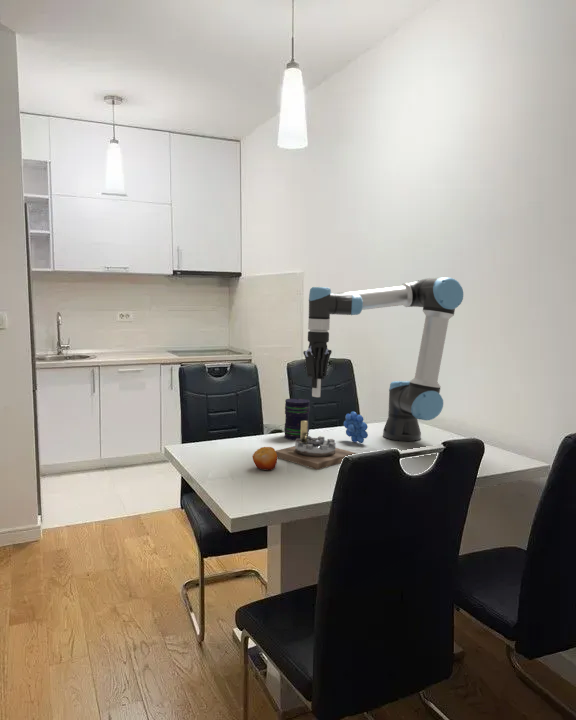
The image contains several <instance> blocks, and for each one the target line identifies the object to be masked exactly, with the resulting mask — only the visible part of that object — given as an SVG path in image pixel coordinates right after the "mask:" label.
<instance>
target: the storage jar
mask: <svg viewBox="0 0 576 720" xmlns="http://www.w3.org/2000/svg"><path fill="white" fill-rule="evenodd" d="M310 402H311V401H310V400H309V399H306V398H297V397H295V398H294V397H293V398H292V397H290V398H286V399H285V403H284V405H285V406H284V414H285V423H284V429H283V430H284V439H286V440H289V441H296V439H297V438H300V437H301V421H308V422H309V419H310V417H309V416H310V410H311V407H310V405H311V404H310ZM309 434H310V423H308V430H307V436H309Z"/></svg>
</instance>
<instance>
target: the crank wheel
mask: <svg viewBox="0 0 576 720" xmlns="http://www.w3.org/2000/svg"><path fill="white" fill-rule="evenodd" d="M308 424H309V421H301V437H300V438H297V439H296V440H295V442H294V443H295V444H294V446H295V452H297V453H298V454H301V455H305V456H313V457H323V456H330V455H333V454H335V448H337V446H336V444H337V443H336V442H335V439H333V438H327V440H325V436H321V435H320V436H318V437H312V436H311V435H308V436H307V430H308Z"/></svg>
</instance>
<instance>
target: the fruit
mask: <svg viewBox="0 0 576 720" xmlns="http://www.w3.org/2000/svg"><path fill="white" fill-rule="evenodd" d="M251 457H252V461H253V463H254V466H255V467H256V468H257V469H259V470H262V471H273V470H274V469H276V466H277V463H278V458H277V453H276V450H275V448H274V447H272V446H263V447H260V448H258V449H256V451H254V452H253V454H252V456H251Z"/></svg>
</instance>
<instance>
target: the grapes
mask: <svg viewBox="0 0 576 720" xmlns="http://www.w3.org/2000/svg"><path fill="white" fill-rule="evenodd" d="M343 427H344V428H345V429H346V430H345V435H346V436H347V437H348V438H349V437H350V440H351V441H352V442H353V443H357V442H358V443H359V444H363V443H364V441H365V439H367V438H368V436H369V434H368V432H367V429H368V427H369V426H368V424H367V423H366V422H365V421H364V417H363V416H362V415H361V414H357V411H354V410H353V411H351V412H350V413H346V415H345V420H344V421H343Z"/></svg>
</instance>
